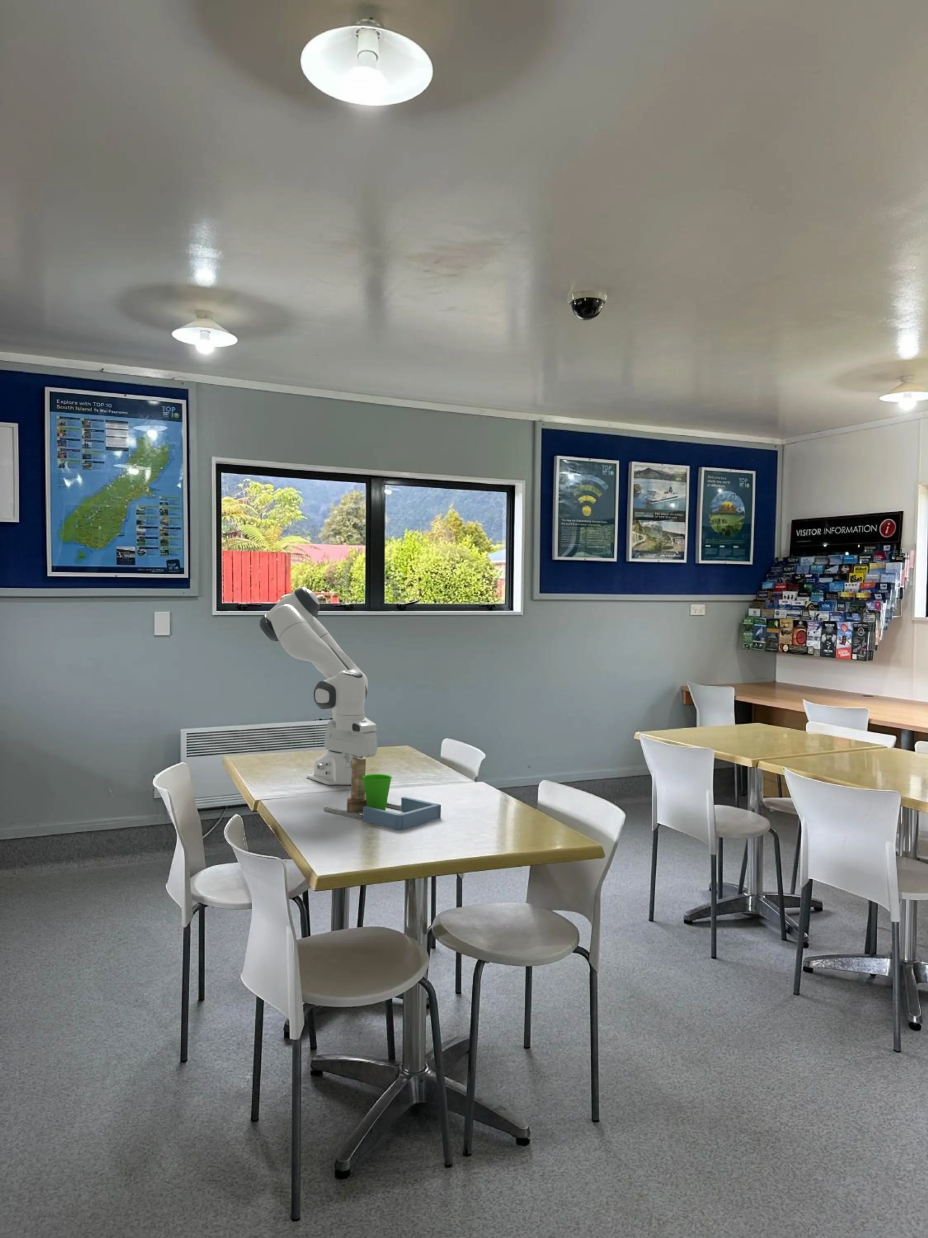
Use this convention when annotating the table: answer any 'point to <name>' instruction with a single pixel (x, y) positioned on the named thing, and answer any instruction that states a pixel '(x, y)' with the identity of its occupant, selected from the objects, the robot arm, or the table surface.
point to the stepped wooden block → (357, 786)
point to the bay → (404, 814)
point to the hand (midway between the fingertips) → (349, 767)
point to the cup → (377, 790)
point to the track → (355, 815)
